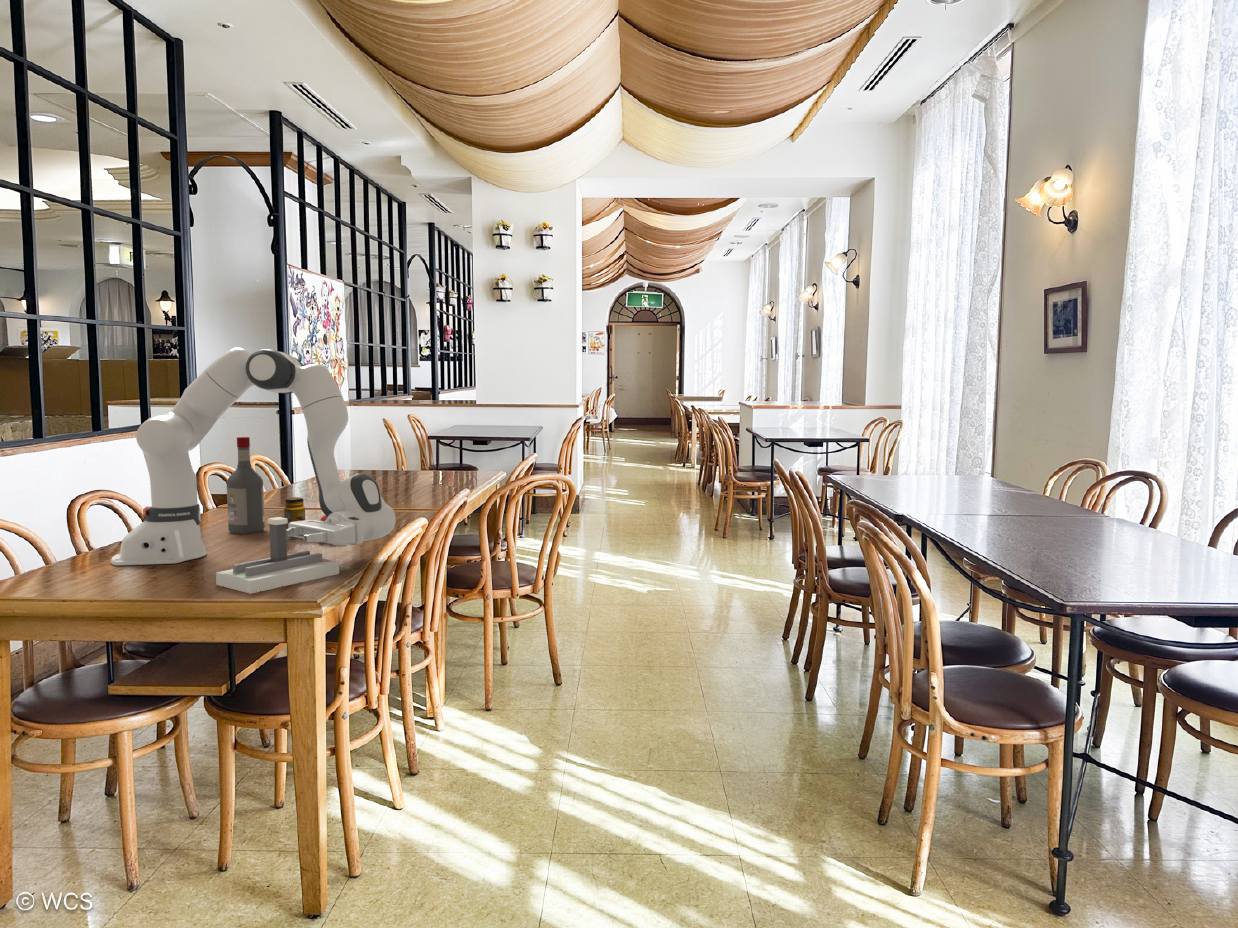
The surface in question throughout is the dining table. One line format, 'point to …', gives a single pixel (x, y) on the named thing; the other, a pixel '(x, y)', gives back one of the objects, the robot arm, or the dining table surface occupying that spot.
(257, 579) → the box
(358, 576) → the dining table surface
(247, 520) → the liquor
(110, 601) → the dining table surface
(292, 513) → the condiment
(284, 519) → the handle
